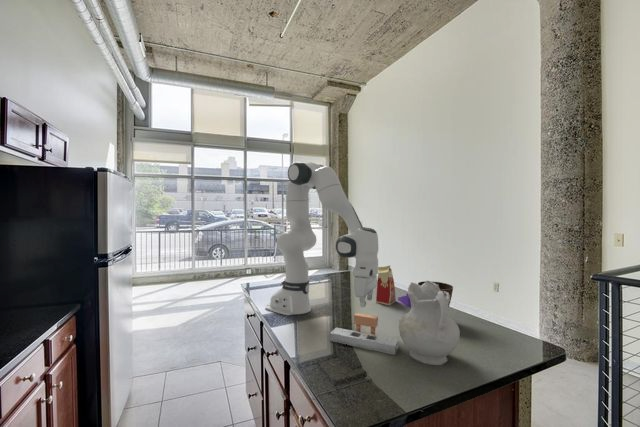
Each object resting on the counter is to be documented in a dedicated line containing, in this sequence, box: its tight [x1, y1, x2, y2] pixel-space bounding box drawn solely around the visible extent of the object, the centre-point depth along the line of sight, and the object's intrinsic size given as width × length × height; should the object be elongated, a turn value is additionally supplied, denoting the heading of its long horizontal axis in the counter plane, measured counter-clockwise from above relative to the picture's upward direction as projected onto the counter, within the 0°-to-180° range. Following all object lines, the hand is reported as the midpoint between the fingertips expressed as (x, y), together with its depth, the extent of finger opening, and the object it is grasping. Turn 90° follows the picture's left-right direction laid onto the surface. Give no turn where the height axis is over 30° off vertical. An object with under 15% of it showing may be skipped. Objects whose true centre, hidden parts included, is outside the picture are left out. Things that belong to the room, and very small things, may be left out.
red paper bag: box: [375, 265, 397, 306], centre depth 161 cm, size 9×9×20 cm
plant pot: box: [417, 280, 454, 309], centre depth 135 cm, size 15×15×16 cm
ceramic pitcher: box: [398, 280, 461, 366], centre depth 100 cm, size 22×20×25 cm
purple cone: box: [397, 292, 411, 308], centre depth 160 cm, size 12×7×7 cm, turn 12°
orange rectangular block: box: [353, 312, 379, 335], centre depth 119 cm, size 9×3×7 cm, turn 66°
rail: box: [329, 327, 399, 356], centre depth 110 cm, size 24×6×3 cm, turn 66°
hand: (366, 303), depth 119 cm, fingers open, 8 cm apart
